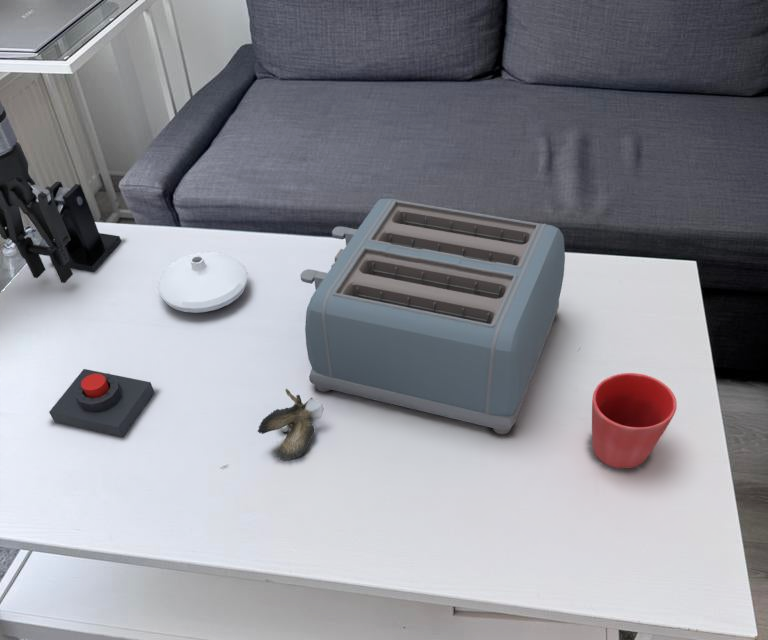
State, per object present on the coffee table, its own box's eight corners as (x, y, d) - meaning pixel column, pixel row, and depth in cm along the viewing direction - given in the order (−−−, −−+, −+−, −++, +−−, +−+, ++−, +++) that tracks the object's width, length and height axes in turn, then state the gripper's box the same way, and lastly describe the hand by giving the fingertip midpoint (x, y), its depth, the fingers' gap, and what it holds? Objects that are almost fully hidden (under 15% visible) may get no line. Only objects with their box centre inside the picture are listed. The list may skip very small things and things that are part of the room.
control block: (54, 422, 114) (43, 403, 111) (88, 379, 120) (79, 359, 117) (123, 437, 112) (114, 418, 109) (154, 392, 117) (147, 373, 114)
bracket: (94, 271, 138) (68, 207, 128) (52, 264, 140) (23, 201, 130) (121, 241, 144) (98, 177, 133) (81, 235, 146) (55, 171, 135)
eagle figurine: (274, 404, 113) (247, 438, 107) (295, 375, 108) (268, 408, 102) (314, 435, 114) (290, 470, 108) (337, 408, 109) (313, 443, 103)
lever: (56, 260, 131) (48, 251, 128) (31, 256, 132) (23, 247, 129) (84, 198, 134) (77, 189, 132) (60, 195, 135) (52, 185, 133)
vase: (151, 284, 135) (139, 250, 129) (233, 258, 139) (225, 223, 133) (177, 333, 126) (165, 298, 120) (264, 304, 130) (256, 269, 124)
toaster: (361, 273, 134) (354, 181, 120) (559, 312, 125) (576, 217, 111) (288, 386, 117) (270, 294, 103) (511, 440, 108) (524, 347, 94)
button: (80, 396, 112) (76, 387, 111) (93, 380, 114) (89, 371, 113) (101, 400, 112) (97, 391, 110) (113, 384, 114) (109, 375, 112)
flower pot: (567, 433, 108) (578, 383, 101) (635, 414, 110) (651, 364, 102) (602, 486, 102) (616, 437, 95) (673, 465, 104) (693, 416, 96)
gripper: (57, 142, 116) (107, 271, 134) (-39, 130, 120) (22, 257, 138) (30, 166, 112) (85, 296, 130) (-70, 153, 116) (-2, 280, 134)
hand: (53, 275), depth 134 cm, fingers closed on lever, 5 cm apart
